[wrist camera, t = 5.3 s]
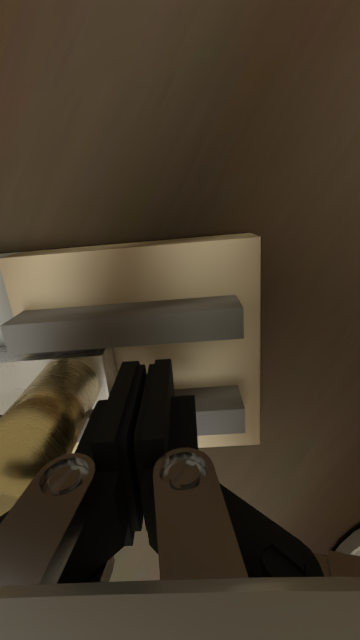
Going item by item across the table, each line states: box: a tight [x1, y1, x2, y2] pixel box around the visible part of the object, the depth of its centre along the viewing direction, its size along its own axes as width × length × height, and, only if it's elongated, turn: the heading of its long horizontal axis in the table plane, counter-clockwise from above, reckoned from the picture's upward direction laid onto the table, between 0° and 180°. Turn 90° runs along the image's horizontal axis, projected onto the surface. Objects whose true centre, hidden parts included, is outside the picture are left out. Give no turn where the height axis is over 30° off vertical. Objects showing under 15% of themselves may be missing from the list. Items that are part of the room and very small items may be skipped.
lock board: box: [0, 233, 261, 453], centre depth 14 cm, size 21×10×4 cm, turn 95°
